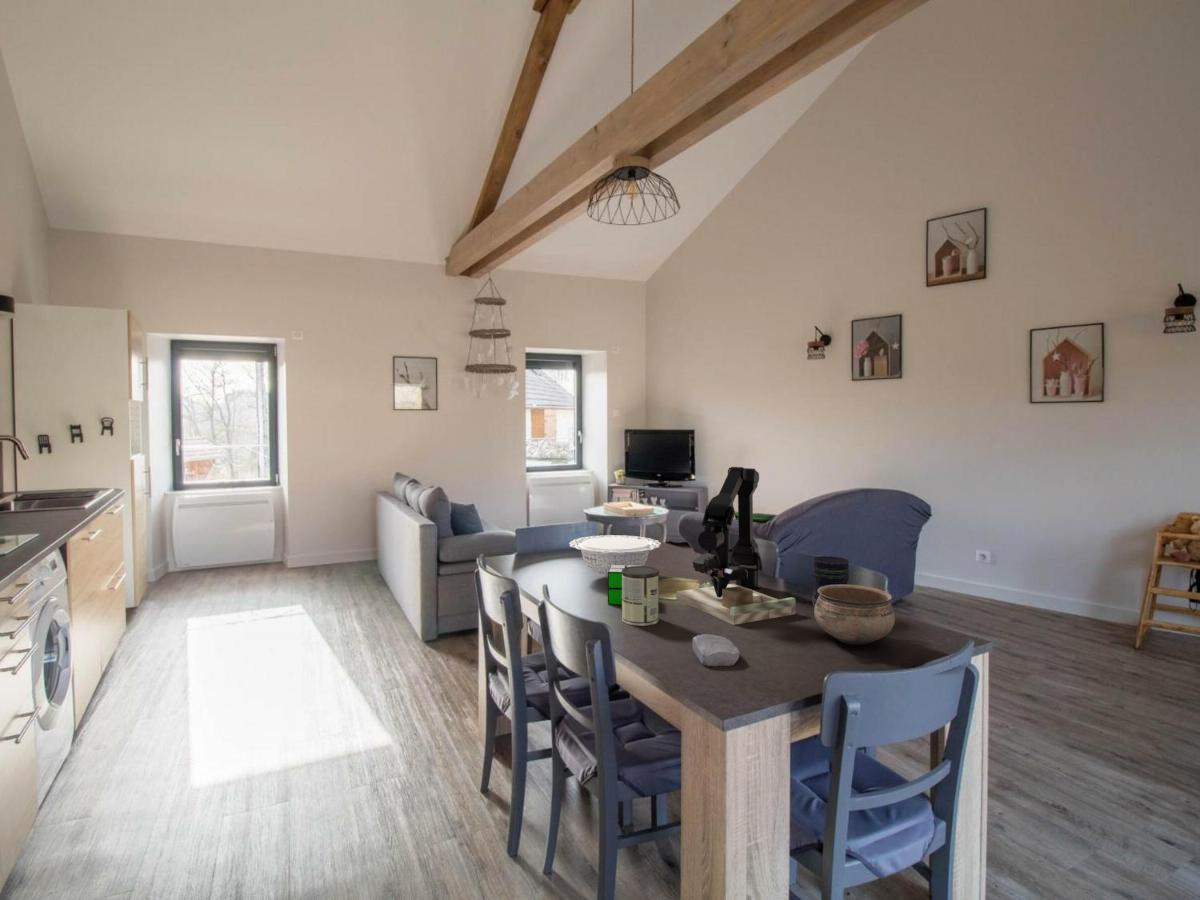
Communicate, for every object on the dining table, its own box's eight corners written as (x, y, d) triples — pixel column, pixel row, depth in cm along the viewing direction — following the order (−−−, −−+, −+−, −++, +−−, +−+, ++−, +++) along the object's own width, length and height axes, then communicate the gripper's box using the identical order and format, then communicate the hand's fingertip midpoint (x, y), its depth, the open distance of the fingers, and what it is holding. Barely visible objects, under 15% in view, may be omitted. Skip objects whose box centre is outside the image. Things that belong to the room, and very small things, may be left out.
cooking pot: (855, 662, 154) (856, 610, 153) (789, 639, 170) (790, 592, 169) (916, 642, 168) (918, 594, 167) (851, 623, 184) (852, 578, 183)
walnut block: (738, 603, 194) (739, 586, 193) (752, 608, 188) (752, 591, 188) (722, 605, 191) (722, 588, 191) (735, 611, 185) (735, 593, 185)
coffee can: (627, 613, 192) (627, 564, 191) (662, 616, 189) (663, 567, 188) (616, 623, 182) (616, 572, 182) (653, 627, 179) (653, 575, 178)
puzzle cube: (642, 597, 210) (642, 565, 209) (641, 606, 200) (641, 572, 199) (610, 596, 211) (610, 564, 210) (607, 605, 201) (607, 571, 200)
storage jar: (849, 608, 198) (850, 558, 197) (846, 617, 189) (848, 564, 188) (814, 604, 202) (815, 555, 201) (810, 613, 193) (811, 561, 192)
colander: (677, 576, 237) (677, 540, 236) (632, 596, 210) (632, 556, 209) (600, 565, 254) (600, 531, 253) (550, 582, 227) (550, 545, 227)
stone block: (727, 655, 164) (688, 648, 163) (731, 636, 164) (692, 629, 162) (742, 676, 152) (700, 669, 151) (747, 655, 152) (704, 648, 151)
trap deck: (733, 591, 217) (733, 577, 216) (795, 614, 192) (795, 598, 191) (675, 599, 206) (676, 585, 206) (733, 624, 182) (733, 608, 181)
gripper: (678, 541, 201) (678, 593, 202) (717, 553, 184) (716, 609, 185) (708, 538, 206) (708, 588, 207) (749, 549, 190) (748, 603, 191)
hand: (719, 597), depth 197 cm, fingers closed
